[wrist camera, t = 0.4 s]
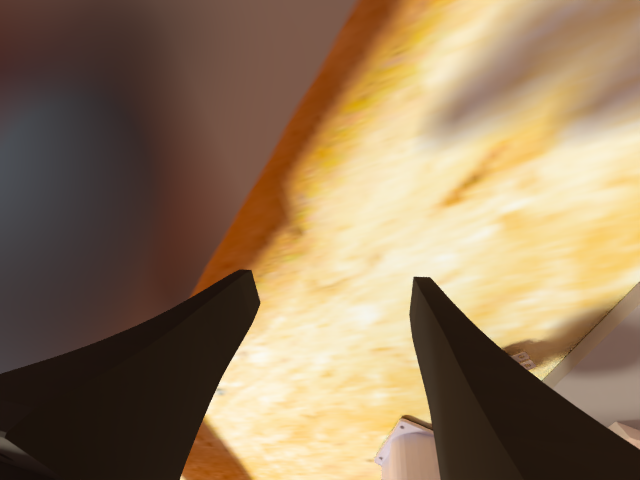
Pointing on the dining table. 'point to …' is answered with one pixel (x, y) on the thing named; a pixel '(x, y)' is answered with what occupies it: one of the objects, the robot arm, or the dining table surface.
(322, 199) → the dining table surface
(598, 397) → the mat
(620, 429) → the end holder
